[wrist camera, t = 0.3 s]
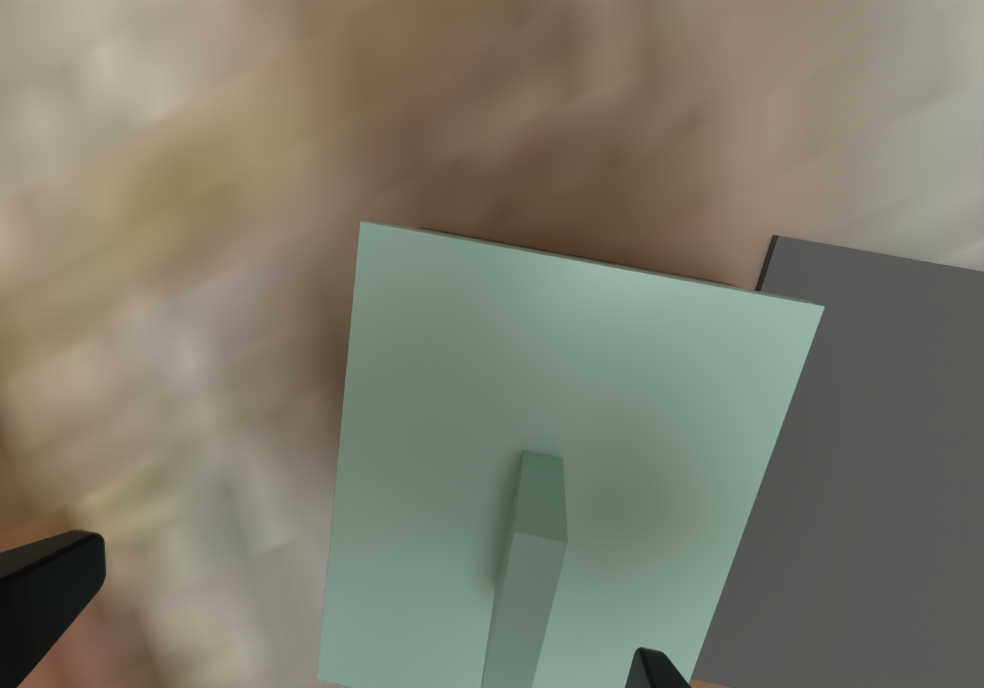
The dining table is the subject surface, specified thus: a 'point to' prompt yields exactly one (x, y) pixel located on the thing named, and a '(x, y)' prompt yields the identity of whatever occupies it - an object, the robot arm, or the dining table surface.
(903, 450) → the mat
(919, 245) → the dining table surface
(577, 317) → the lid
